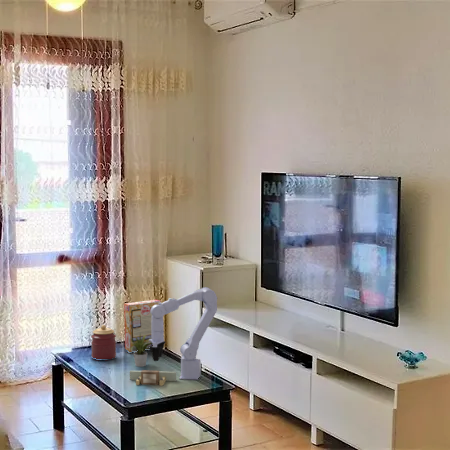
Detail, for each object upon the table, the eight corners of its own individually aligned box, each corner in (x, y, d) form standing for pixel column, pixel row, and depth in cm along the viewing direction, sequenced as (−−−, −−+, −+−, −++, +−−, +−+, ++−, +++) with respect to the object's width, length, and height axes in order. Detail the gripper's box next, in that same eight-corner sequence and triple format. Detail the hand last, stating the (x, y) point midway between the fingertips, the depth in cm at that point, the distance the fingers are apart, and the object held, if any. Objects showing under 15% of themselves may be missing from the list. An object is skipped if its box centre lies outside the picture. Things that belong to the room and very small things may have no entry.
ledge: (176, 380, 341) (176, 371, 340) (172, 385, 331) (172, 377, 331) (130, 378, 343) (130, 370, 343) (125, 384, 333) (125, 376, 333)
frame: (159, 383, 336) (159, 370, 336) (158, 385, 333) (158, 372, 332) (142, 382, 337) (142, 370, 336) (141, 384, 334) (141, 371, 333)
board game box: (156, 346, 408) (156, 299, 406) (162, 348, 403) (162, 300, 401) (124, 351, 396) (124, 302, 394) (129, 354, 391) (129, 304, 389)
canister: (86, 357, 383) (86, 324, 382) (107, 353, 391) (107, 321, 390) (100, 362, 373) (99, 328, 372) (121, 358, 382) (120, 325, 381)
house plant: (133, 371, 356) (133, 338, 355) (120, 365, 368) (119, 333, 367) (158, 366, 365) (158, 334, 364) (144, 360, 376) (144, 330, 375)
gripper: (152, 327, 348) (152, 354, 349) (146, 333, 334) (146, 362, 335) (166, 327, 347) (166, 355, 348) (161, 333, 333) (161, 362, 334)
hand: (157, 358), depth 341 cm, fingers open, 7 cm apart
